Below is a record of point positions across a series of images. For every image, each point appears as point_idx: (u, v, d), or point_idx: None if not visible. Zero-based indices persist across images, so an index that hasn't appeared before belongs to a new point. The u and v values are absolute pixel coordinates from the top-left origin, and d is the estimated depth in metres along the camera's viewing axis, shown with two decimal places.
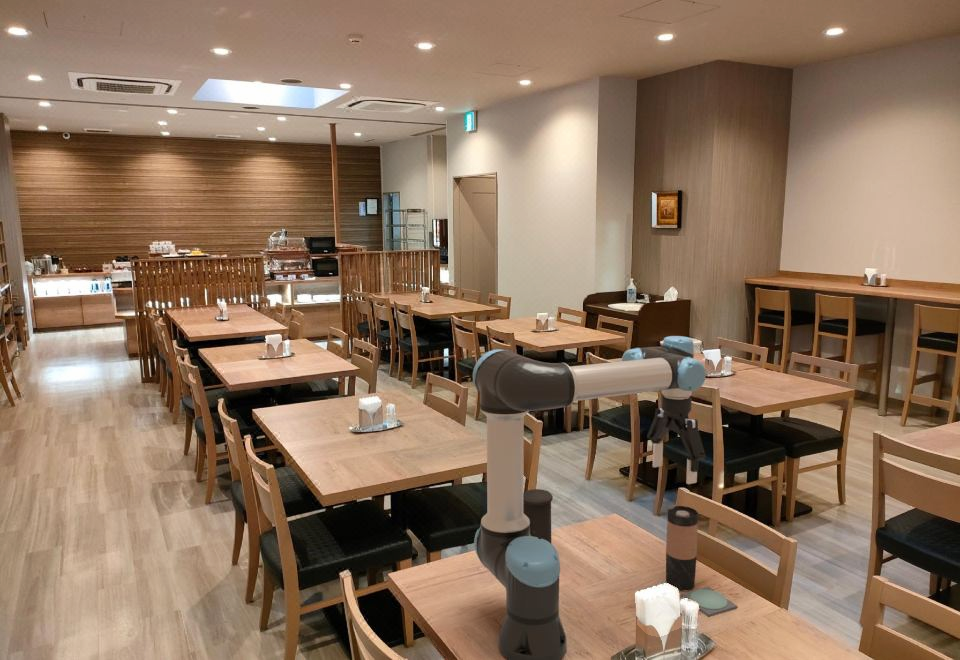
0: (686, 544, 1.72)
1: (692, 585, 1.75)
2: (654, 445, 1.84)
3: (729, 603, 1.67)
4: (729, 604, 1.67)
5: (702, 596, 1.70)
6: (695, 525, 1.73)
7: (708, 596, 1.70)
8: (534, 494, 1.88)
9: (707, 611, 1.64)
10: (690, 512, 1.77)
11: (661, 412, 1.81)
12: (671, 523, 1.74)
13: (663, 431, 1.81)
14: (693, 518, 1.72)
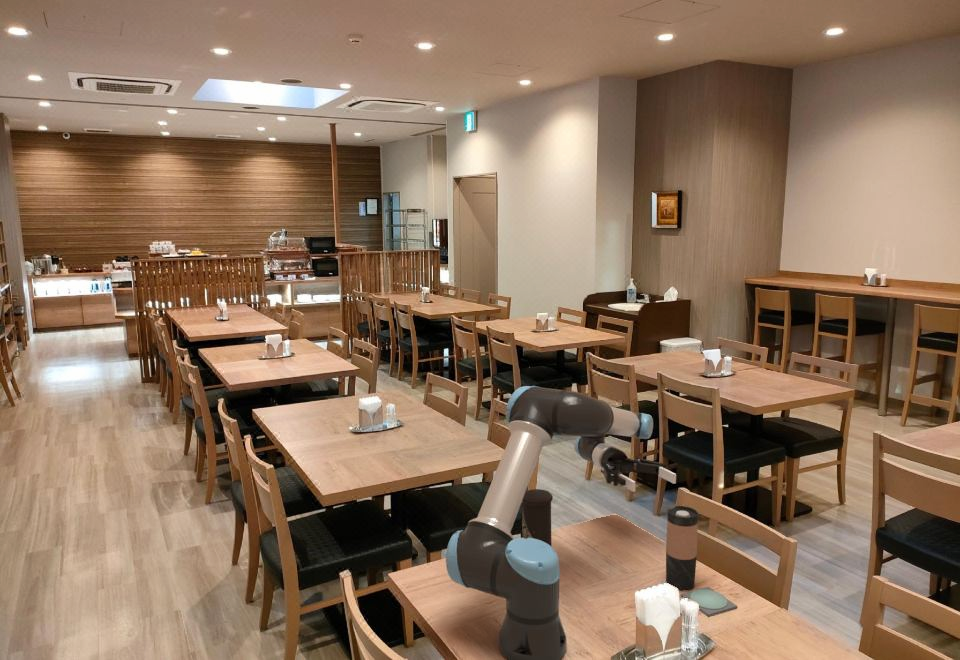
0: (686, 544, 1.72)
1: (692, 585, 1.75)
2: (621, 474, 1.88)
3: (729, 603, 1.67)
4: (729, 604, 1.67)
5: (702, 596, 1.70)
6: (695, 525, 1.73)
7: (708, 596, 1.70)
8: (534, 494, 1.88)
9: (707, 611, 1.64)
10: (690, 512, 1.77)
11: None
12: (671, 523, 1.74)
13: (619, 470, 1.93)
14: (693, 518, 1.72)
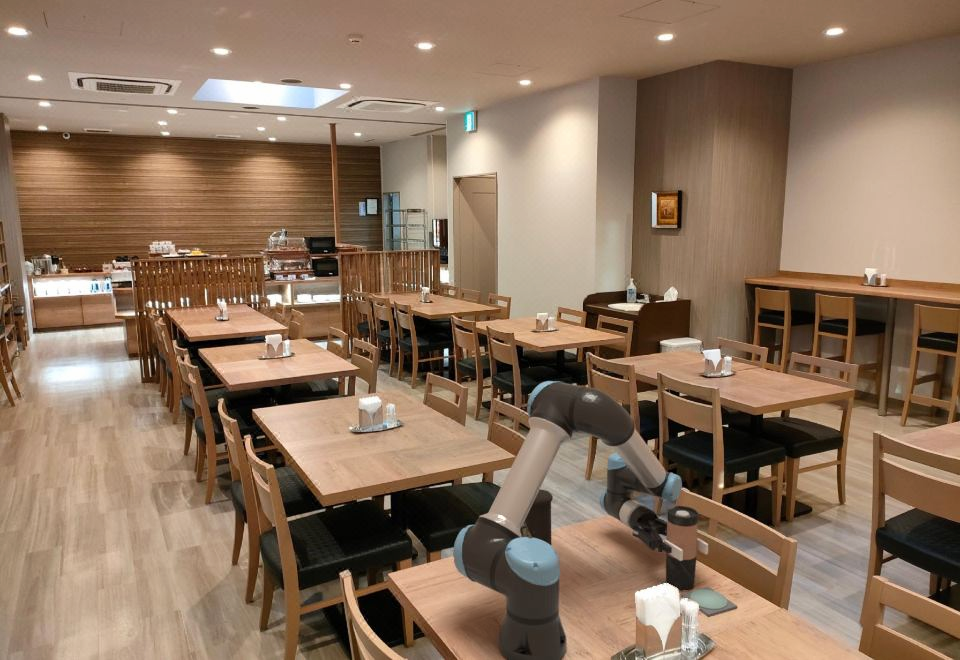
0: (686, 544, 1.72)
1: (692, 585, 1.75)
2: (666, 540, 1.76)
3: (729, 603, 1.67)
4: (729, 604, 1.67)
5: (702, 596, 1.70)
6: (695, 525, 1.73)
7: (708, 596, 1.70)
8: None
9: (707, 611, 1.64)
10: (690, 512, 1.77)
11: None
12: (671, 523, 1.74)
13: None
14: (693, 518, 1.72)
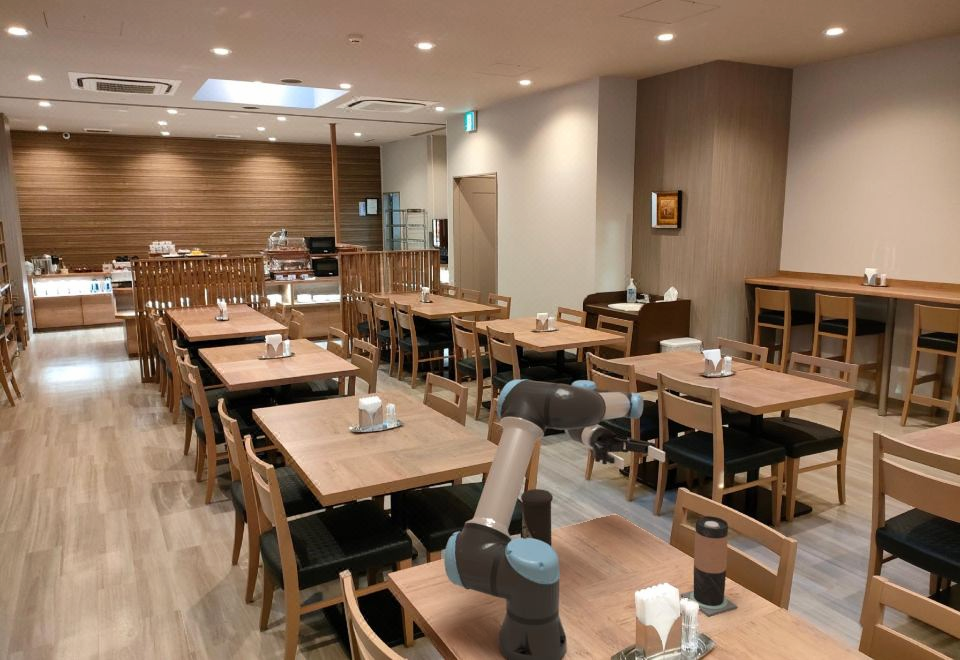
0: (715, 557, 1.63)
1: (722, 600, 1.66)
2: (610, 453, 1.87)
3: (729, 603, 1.67)
4: (729, 604, 1.67)
5: None
6: (725, 537, 1.64)
7: None
8: (534, 494, 1.88)
9: (707, 611, 1.64)
10: (719, 523, 1.68)
11: None
12: (700, 535, 1.65)
13: (608, 449, 1.92)
14: (723, 529, 1.63)
